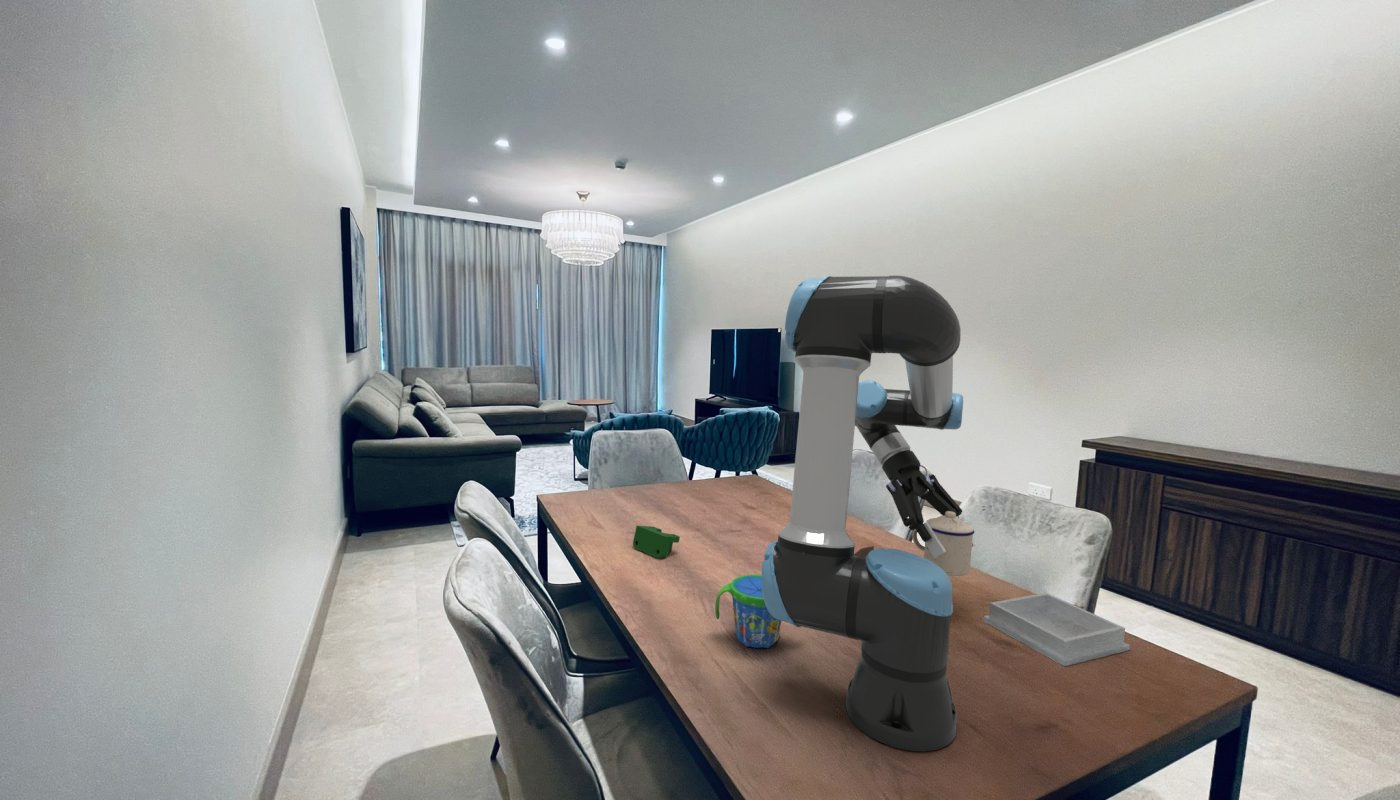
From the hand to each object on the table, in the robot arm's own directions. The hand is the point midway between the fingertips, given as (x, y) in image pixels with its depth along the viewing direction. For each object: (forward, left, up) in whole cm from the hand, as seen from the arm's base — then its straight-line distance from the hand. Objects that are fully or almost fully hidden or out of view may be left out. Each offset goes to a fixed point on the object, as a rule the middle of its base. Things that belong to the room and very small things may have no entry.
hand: (955, 551), depth 113 cm
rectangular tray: (+13, -12, -14) cm, 22 cm away
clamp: (-46, +52, -14) cm, 71 cm away
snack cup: (-42, +4, -14) cm, 44 cm away
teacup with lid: (-1, +3, -4) cm, 5 cm away
